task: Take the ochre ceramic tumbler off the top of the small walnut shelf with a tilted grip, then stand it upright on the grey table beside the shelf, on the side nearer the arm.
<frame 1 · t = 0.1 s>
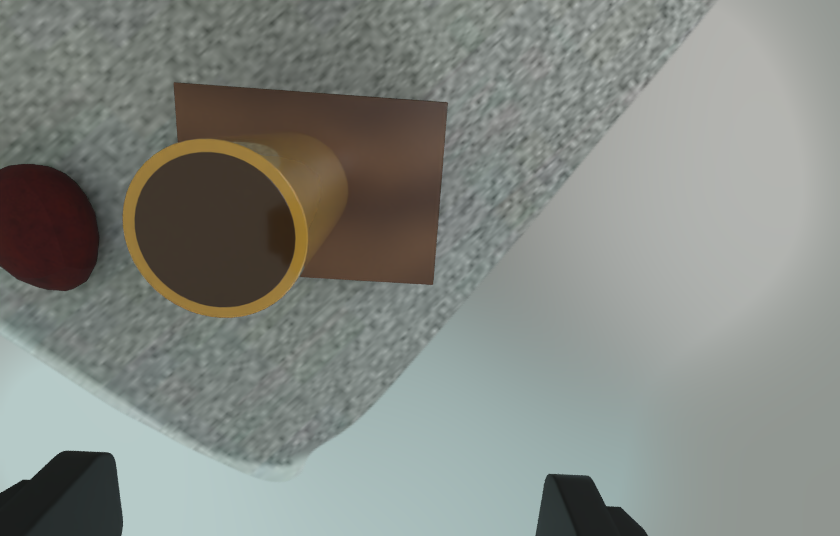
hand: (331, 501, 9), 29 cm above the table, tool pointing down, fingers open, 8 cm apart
tumbler: (292, 188, 27), point 10 cm above the table, touching shelf
potato: (70, 220, 37), on the table
shelf: (337, 171, 36), on the table
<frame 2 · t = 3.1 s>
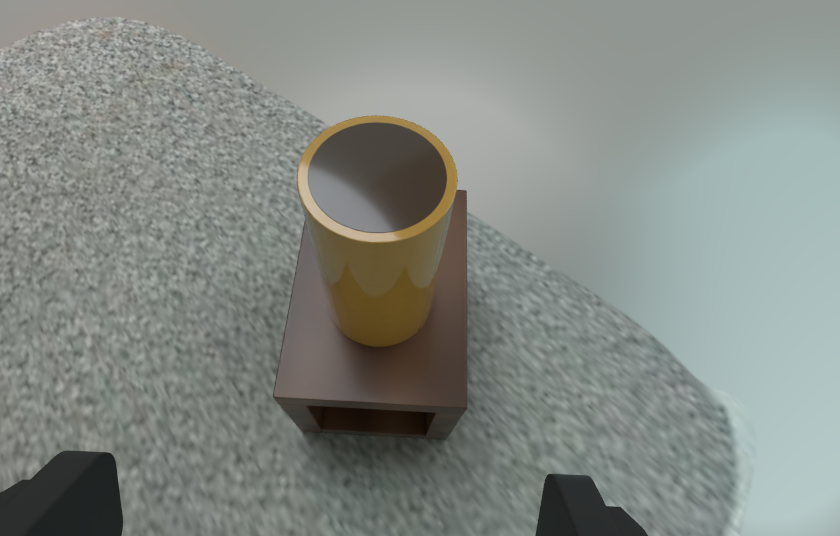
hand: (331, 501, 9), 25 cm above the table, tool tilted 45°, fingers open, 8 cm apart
tumbler: (380, 296, 28), point 10 cm above the table, touching shelf
shelf: (381, 339, 37), on the table
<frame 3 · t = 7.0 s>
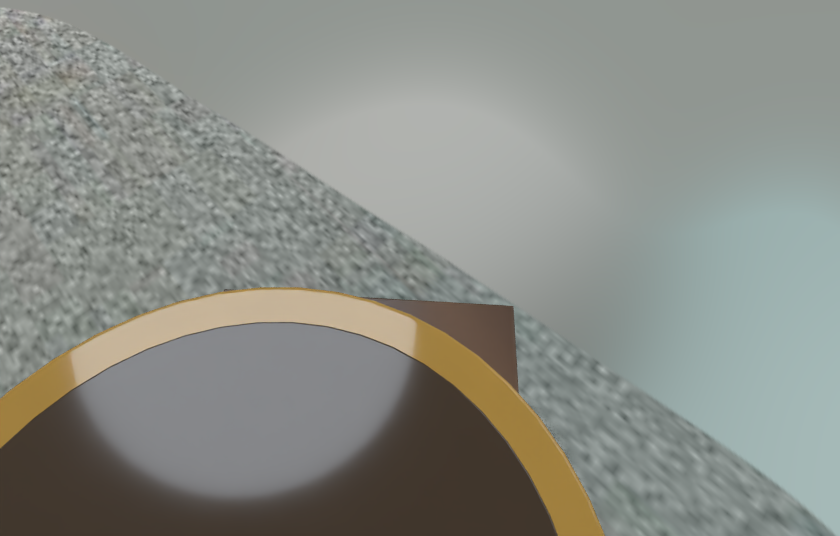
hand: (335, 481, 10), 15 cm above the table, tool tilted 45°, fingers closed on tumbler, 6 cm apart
shelf: (363, 529, 23), on the table
when the fingers open (5 cm above the table, at t = 16.6 s): tumbler stays where it is, on the table.
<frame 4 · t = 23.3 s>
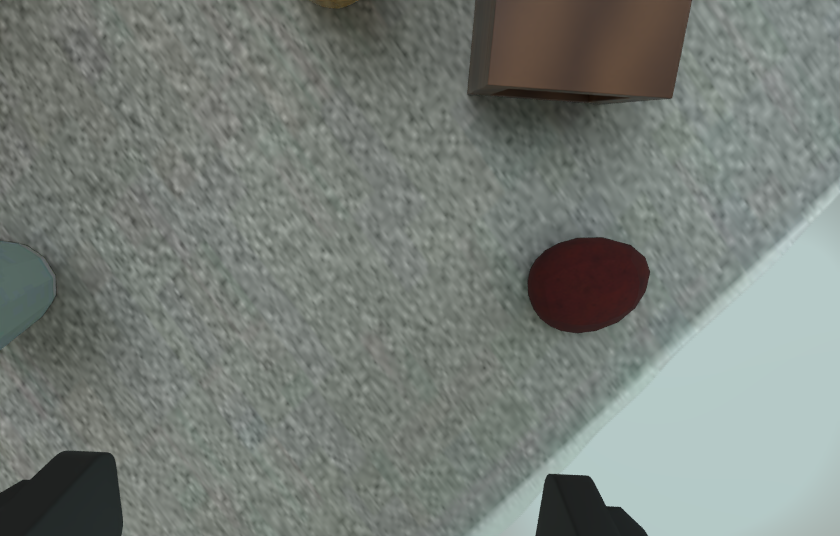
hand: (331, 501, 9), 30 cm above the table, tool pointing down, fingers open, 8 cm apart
disposable coffee cup: (21, 276, 39), on the table
potato: (574, 273, 40), on the table
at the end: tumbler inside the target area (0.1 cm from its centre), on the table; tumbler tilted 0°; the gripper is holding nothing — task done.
